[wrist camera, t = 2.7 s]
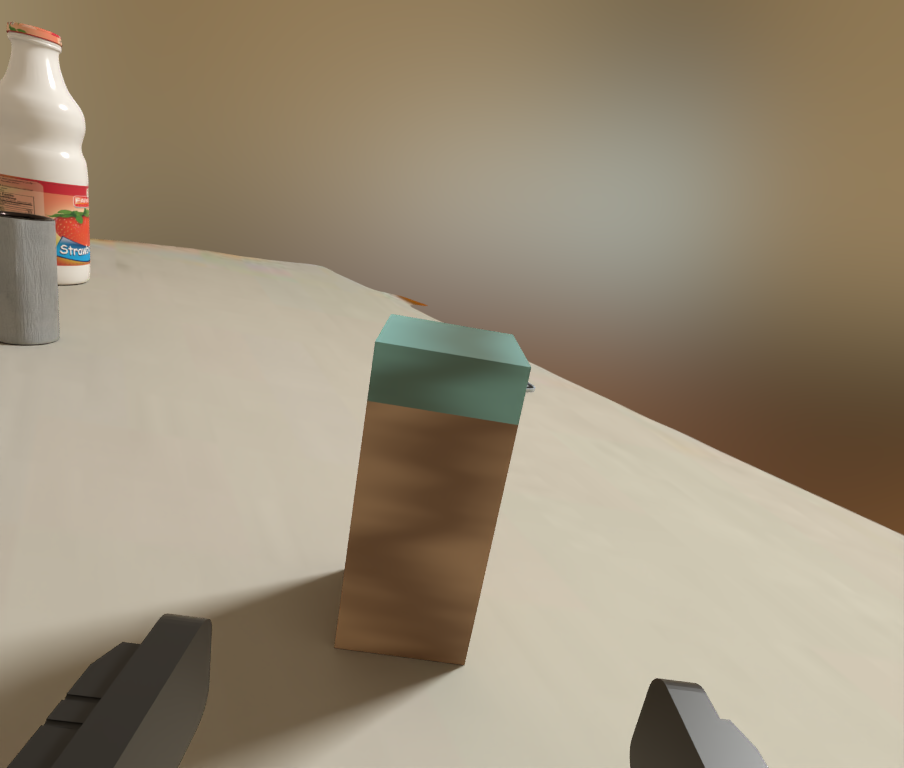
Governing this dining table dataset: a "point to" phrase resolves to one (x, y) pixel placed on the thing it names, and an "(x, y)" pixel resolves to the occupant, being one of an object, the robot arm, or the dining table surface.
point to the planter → (28, 279)
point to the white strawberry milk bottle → (44, 147)
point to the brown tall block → (429, 487)
